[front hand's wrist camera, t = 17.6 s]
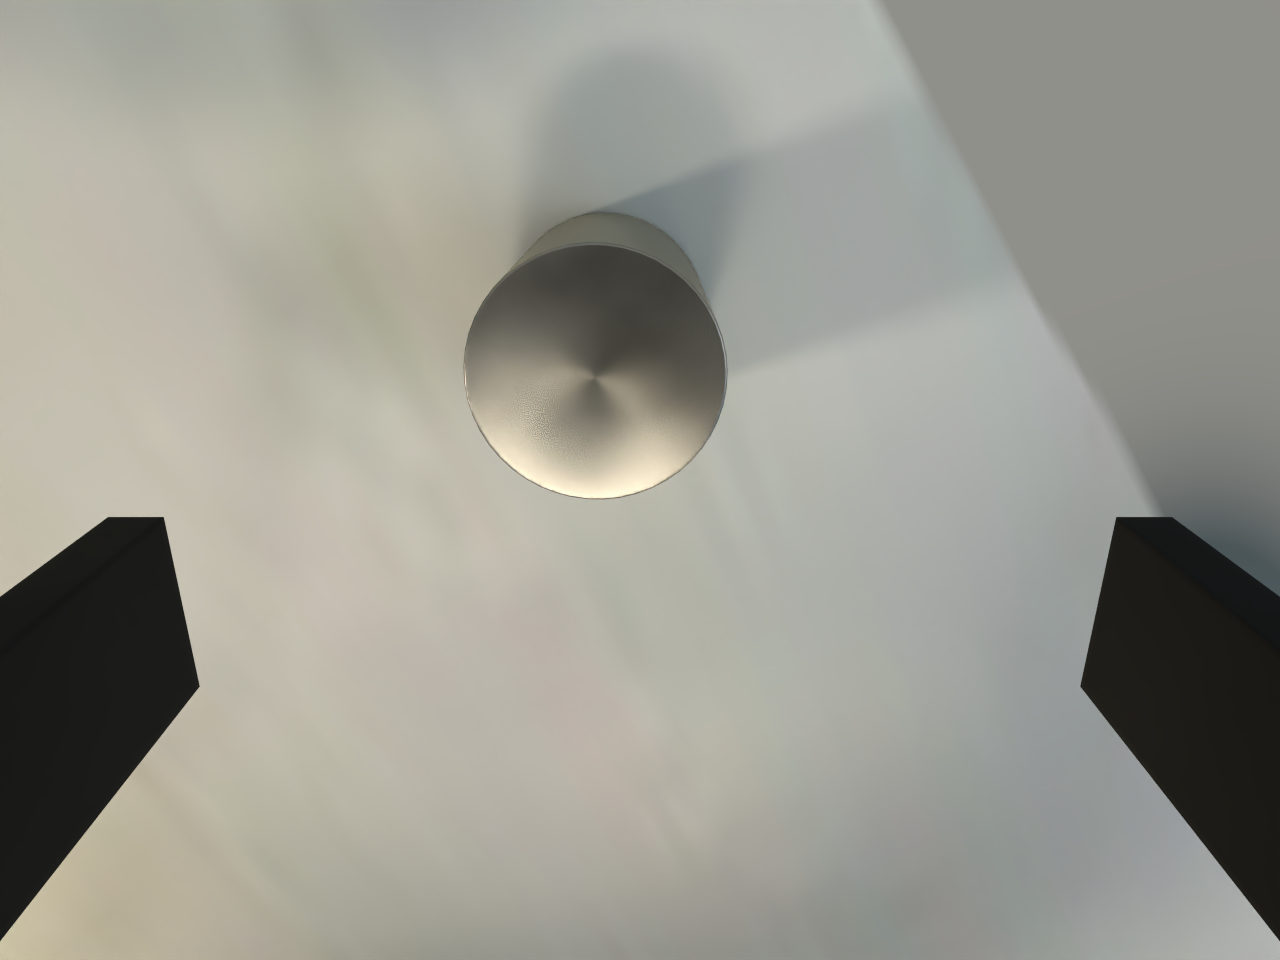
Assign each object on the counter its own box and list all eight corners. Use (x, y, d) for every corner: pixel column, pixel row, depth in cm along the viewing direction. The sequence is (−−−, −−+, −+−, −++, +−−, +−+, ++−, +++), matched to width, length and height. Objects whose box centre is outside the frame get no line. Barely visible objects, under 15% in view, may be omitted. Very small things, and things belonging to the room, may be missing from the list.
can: (693, 415, 29) (712, 509, 22) (505, 400, 29) (461, 489, 22) (714, 221, 27) (743, 254, 20) (512, 203, 27) (465, 230, 20)
